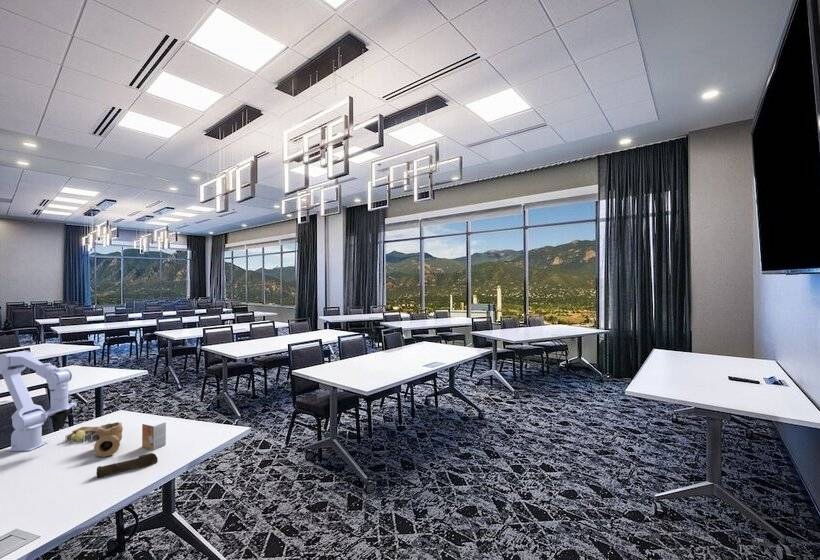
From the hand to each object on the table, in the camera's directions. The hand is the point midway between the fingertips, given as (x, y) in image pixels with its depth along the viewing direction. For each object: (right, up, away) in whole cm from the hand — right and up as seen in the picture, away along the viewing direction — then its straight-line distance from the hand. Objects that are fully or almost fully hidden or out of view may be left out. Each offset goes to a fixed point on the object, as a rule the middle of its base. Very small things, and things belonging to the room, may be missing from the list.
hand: (59, 428), depth 160 cm
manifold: (+4, -9, +11) cm, 15 cm away
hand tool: (+44, -10, -17) cm, 48 cm away
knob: (0, -10, +8) cm, 13 cm away
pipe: (+23, -10, -1) cm, 25 cm away
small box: (+40, -9, +2) cm, 42 cm away
